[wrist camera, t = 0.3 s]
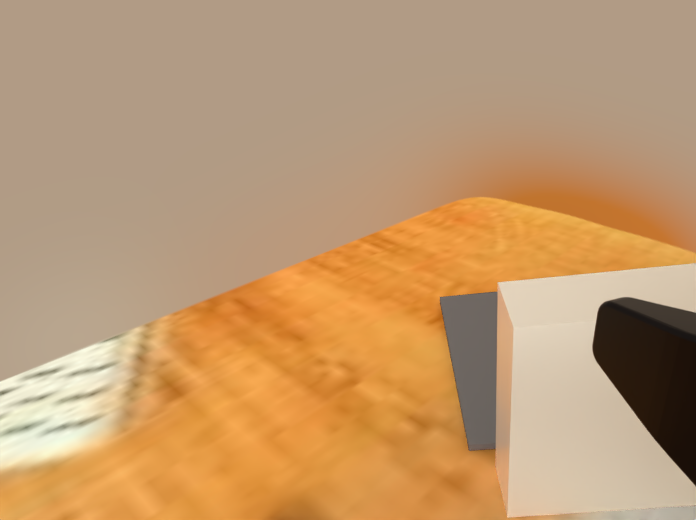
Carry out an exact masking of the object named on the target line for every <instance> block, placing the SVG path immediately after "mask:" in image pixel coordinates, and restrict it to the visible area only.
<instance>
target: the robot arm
mask: <svg viewBox="0 0 696 520" xmlns="http://www.w3.org/2000/svg"><path fill="white" fill-rule="evenodd" d="M592 350H593V355H594V358H595V360H596V362H597V363H598V365H599V366H600V367H601V369H602V370H603V372H604V373H605V374H606V376H607V377H608V378H609V380H610V381H611V382H612V384H613V385H614V386H615V388H616V389H617V390H618V392H619V393H620V394H621V396H622V397H623V398H624V400H625V401H626V402H627V404H628V405H629V406H630V408H631V409H632V411H633V412H634V413H635V415H636V416H637V417H638V419H639V420H640V421H641V423H642V424H643V425H644V427H645V428H646V429H647V431H648V432H649V433H650V434H651V436H652V437H653V438H654V440H655V441H656V442H657V443H658V444H659V446H660V447H661V448H662V449H663V450H664V451H665V453H666V454H667V455H668V456H669V457H670V458H671V459H672V460H673V462H674V463H675V464H676V465H677V466H678V467H679V468H680V469H681V471H682V472H683V473H684V474H685V475H686V476H687V477H688V478H689V479H690V481H691V482H692V483H693V484H694V485H695V486H696V313H695V312H691V311H687V310H683V309H678V308H674V307H670V306H666V305H661V304H657V303H653V302H649V301H644V300H640V299H636V298H632V297H621V298H617V299H613V300H609V301H605V302H604V303H602V304H601V305H600V307H599V309H598V312H597V319H596V325H595V331H594V338H593V344H592Z"/></svg>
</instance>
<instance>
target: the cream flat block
mask: <svg viewBox="0 0 696 520" xmlns="http://www.w3.org/2000/svg"><path fill="white" fill-rule="evenodd" d="M621 297H632V298H636V299H640V300H644V301H649V302H653V303H657V304H661V305H666V306H670V307H674V308H678V309H683V310H687V311H691V312H695V313H696V263H694V264H683V265H673V266H663V267H652V268H642V269H632V270H622V271H611V272H601V273H591V274H580V275H570V276H560V277H549V278H539V279H529V280H518V281H508V282H498V307H497V386H496V465H495V467H496V471H497V476H498V480H499V484H500V488H501V493H502V497H503V501H504V505H505V510H506V514H507V518H508V517H524V516H540V515H556V514H572V513H588V512H604V511H620V510H636V509H652V508H667V507H683V506H696V486H695V485H694V484H693V483H692V482H691V481H690V479H689V478H688V477H687V476H686V475H685V474H684V473H683V472H682V471H681V469H680V468H679V467H678V466H677V465H676V464H675V463H674V462H673V460H672V459H671V458H670V457H669V456H668V455H667V454H666V453H665V451H664V450H663V449H662V448H661V447H660V446H659V444H658V443H657V442H656V441H655V440H654V438H653V437H652V436H651V434H650V433H649V432H648V431H647V429H646V428H645V427H644V425H643V424H642V423H641V421H640V420H639V419H638V417H637V416H636V415H635V413H634V412H633V411H632V409H631V408H630V406H629V405H628V404H627V402H626V401H625V400H624V398H623V397H622V396H621V394H620V393H619V392H618V390H617V389H616V388H615V386H614V385H613V384H612V382H611V381H610V380H609V378H608V377H607V376H606V374H605V373H604V372H603V370H602V369H601V367H600V366H599V365H598V363H597V362H596V360H595V358H594V355H593V350H592V344H593V338H594V331H595V325H596V319H597V312H598V309H599V307H600V305H601V304H602V303H604V302H605V301H609V300H613V299H617V298H621Z"/></svg>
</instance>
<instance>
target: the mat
mask: <svg viewBox="0 0 696 520" xmlns="http://www.w3.org/2000/svg"><path fill="white" fill-rule="evenodd" d="M440 305H441V310H442V315H443V320H444V325H445V330H446V335H447V340H448V346H449V351H450V356H451V361H452V366H453V371H454V376H455V381H456V387H457V392H458V397H459V402H460V407H461V412H462V417H463V422H464V428H465V433H466V438H467V443H468V448H469V451H471V450H485V449H496V386H497V307H498V292H489V293H478V294H468V295H457V296H447V297H440Z"/></svg>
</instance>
